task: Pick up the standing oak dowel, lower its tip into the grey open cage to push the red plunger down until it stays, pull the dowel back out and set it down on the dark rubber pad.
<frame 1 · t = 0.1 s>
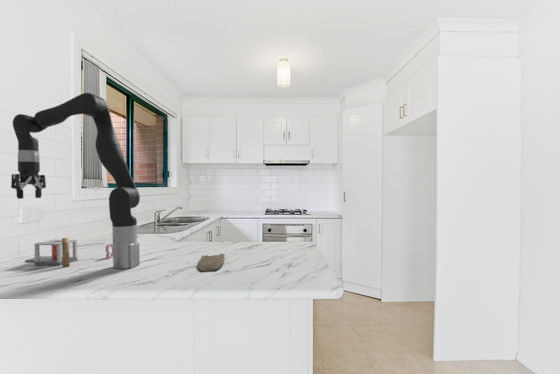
hand: (29, 198, 140), 29 cm above the table, tool pointing down, fingers open, 8 cm apart
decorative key: (119, 255, 159), on the table
oak dowel: (66, 266, 136), on the table
plunger: (56, 251, 143), point 5 cm above the table, slide at 0.0 cm
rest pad: (40, 260, 149), on the table
grey open cage: (56, 262, 143), on the table
stone tool: (211, 265, 136), on the table
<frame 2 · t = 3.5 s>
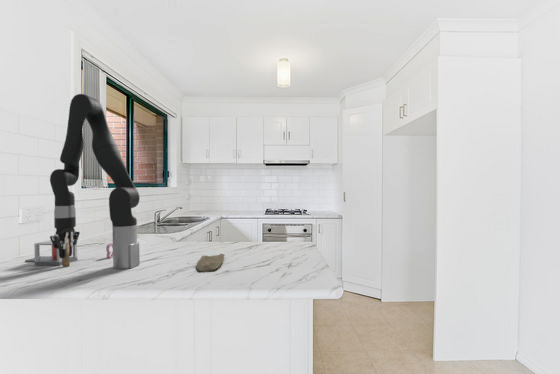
hand: (65, 256, 136), 4 cm above the table, tool pointing down, fingers closed on oak dowel, 2 cm apart
oak dowel: (66, 266, 136), on the table, touching gripper
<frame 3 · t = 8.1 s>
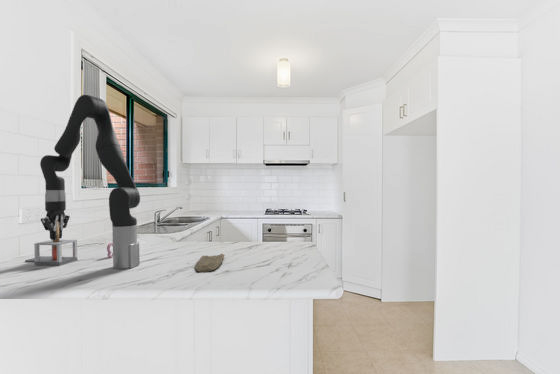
hand: (56, 238, 143), 11 cm above the table, tool pointing down, fingers closed on oak dowel, 2 cm apart
oak dowel: (56, 247, 143), point 7 cm above the table, touching gripper, plunger
plunger: (56, 255, 143), point 3 cm above the table, slide at 1.6 cm, touching oak dowel
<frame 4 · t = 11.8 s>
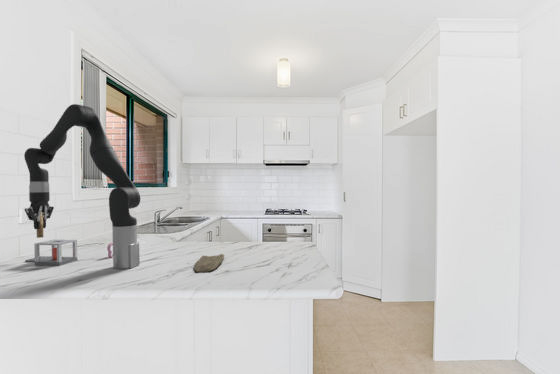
hand: (40, 228, 149), 15 cm above the table, tool pointing down, fingers closed on oak dowel, 2 cm apart
oak dowel: (40, 237, 149), point 11 cm above the table, touching gripper
plunger: (56, 255, 143), point 3 cm above the table, slide at 1.6 cm
when the fingers open (6 cm above the table, at t = 13.7 s): oak dowel drops 1 cm, resting on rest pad.
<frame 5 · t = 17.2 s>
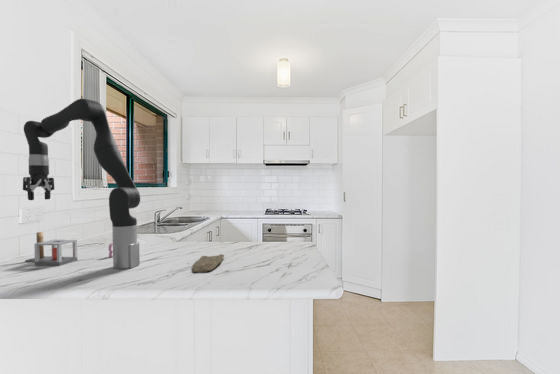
hand: (39, 199, 148), 28 cm above the table, tool pointing down, fingers open, 8 cm apart
oak dowel: (40, 258, 149), point 1 cm above the table, touching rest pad
at the end: plunger slide at 1.6 cm; oak dowel 0.1 cm from the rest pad (horizontally); the gripper is holding nothing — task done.
